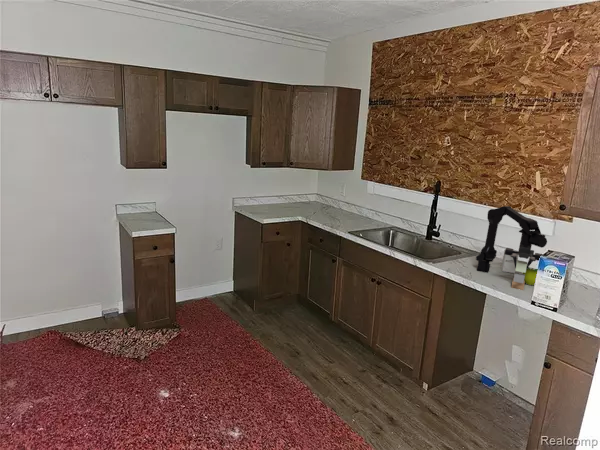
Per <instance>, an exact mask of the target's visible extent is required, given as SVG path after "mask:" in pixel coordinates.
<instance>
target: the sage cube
mask: <svg viewBox="0 0 600 450" xmlns="http://www.w3.org/2000/svg"><path fill="white" fill-rule="evenodd" d="M527 263H528V261H524V260H519V259H518V260H517V264H516V269H515V272H518V273H523V272H524V273H526V268H527Z"/></svg>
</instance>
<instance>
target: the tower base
mask: <svg viewBox="0 0 600 450" xmlns="http://www.w3.org/2000/svg"><path fill="white" fill-rule="evenodd" d="M513 280H514V277H513V278H512V282H511V289H516V290H519V289H520V290H519V291H524V289H525V284H526V283H525V281H524V282H523V283H518V282H514V281H513Z"/></svg>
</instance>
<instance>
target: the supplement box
mask: <svg viewBox="0 0 600 450" xmlns="http://www.w3.org/2000/svg"><path fill="white" fill-rule="evenodd" d="M502 257H503V258H502V261H501V267H500V269H501V271H502V272H504V273H511V274H515V272H516V271H515V269H516V268H515V264H514V260H513V257H511V255H505V249H504V252H503V255H502ZM517 260H519V255H517ZM516 264H517V263H516Z"/></svg>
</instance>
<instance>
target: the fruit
mask: <svg viewBox="0 0 600 450" xmlns="http://www.w3.org/2000/svg"><path fill="white" fill-rule="evenodd" d="M538 269H539V268H533V267H532V268H530V267H528V269H527V270H526V273H524V272H521V274H525V277H524V281H525V284H526V285H529V286H534V283H535V278H536V274H537V270H538Z"/></svg>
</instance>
